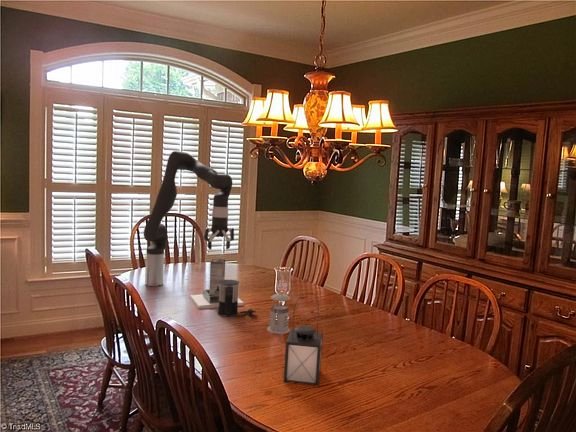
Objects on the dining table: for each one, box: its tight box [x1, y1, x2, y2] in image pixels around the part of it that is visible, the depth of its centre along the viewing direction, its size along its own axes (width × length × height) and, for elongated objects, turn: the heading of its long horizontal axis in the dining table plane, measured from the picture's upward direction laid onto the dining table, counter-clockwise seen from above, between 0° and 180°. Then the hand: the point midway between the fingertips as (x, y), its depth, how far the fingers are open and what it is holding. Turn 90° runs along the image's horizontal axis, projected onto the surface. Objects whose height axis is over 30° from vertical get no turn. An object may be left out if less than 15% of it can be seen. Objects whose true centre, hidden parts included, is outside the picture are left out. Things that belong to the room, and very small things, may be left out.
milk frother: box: [217, 279, 257, 317], centre depth 211 cm, size 14×16×15 cm
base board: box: [189, 293, 245, 310], centre depth 230 cm, size 22×18×2 cm
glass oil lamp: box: [266, 270, 291, 335], centre depth 193 cm, size 10×12×25 cm
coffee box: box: [208, 258, 226, 295], centre depth 229 cm, size 9×6×16 cm
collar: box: [202, 289, 219, 303], centre depth 229 cm, size 10×14×3 cm
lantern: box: [283, 292, 324, 386], centre depth 151 cm, size 11×11×28 cm
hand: (218, 249), depth 227 cm, fingers open, 8 cm apart
